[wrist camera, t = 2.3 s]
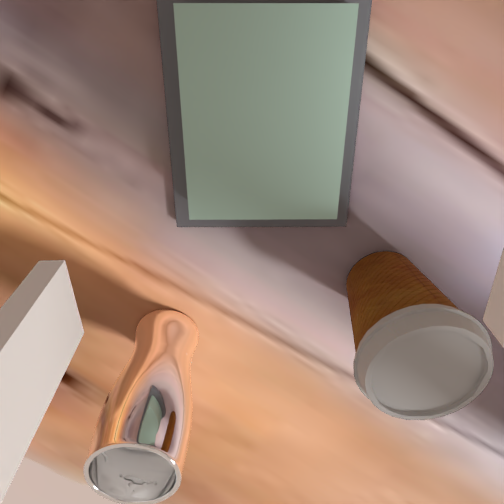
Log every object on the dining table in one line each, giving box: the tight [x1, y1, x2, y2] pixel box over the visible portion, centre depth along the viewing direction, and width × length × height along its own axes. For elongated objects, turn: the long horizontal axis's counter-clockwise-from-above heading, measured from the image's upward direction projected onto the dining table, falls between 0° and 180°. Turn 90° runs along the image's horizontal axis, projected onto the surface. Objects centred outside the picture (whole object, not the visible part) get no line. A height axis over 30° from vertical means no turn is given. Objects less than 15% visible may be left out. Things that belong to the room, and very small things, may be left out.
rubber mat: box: [157, 0, 372, 227], centre depth 32 cm, size 14×18×1 cm
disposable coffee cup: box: [346, 251, 494, 420], centre depth 35 cm, size 10×10×12 cm
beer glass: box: [84, 309, 199, 504], centre depth 36 cm, size 7×7×15 cm
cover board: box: [173, 3, 359, 220], centre depth 30 cm, size 11×14×3 cm
